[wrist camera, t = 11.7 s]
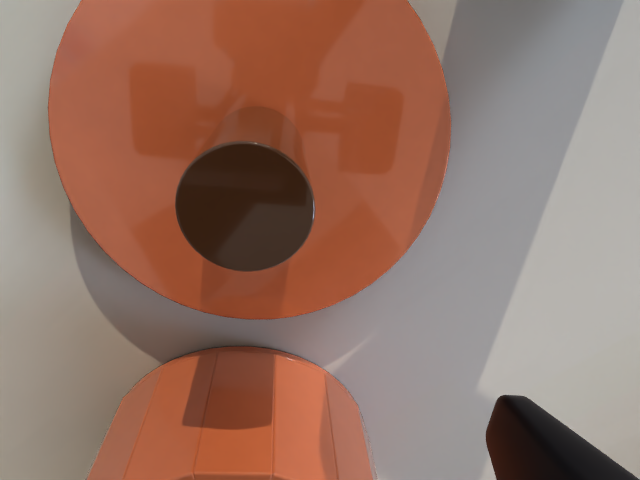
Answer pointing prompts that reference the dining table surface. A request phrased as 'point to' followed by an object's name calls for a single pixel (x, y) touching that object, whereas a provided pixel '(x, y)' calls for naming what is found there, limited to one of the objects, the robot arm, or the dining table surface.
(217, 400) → the crock
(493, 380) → the dining table surface
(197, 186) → the lid
